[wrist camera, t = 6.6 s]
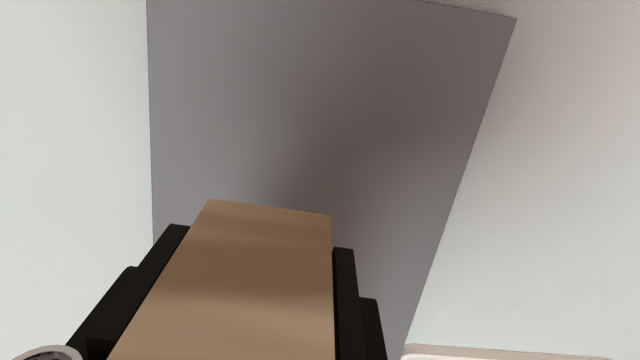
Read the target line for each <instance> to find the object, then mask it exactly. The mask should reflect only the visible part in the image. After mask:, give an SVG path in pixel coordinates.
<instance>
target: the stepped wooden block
mask: <svg viewBox="0 0 640 360" xmlns="http://www.w3.org/2000/svg"><path fill="white" fill-rule="evenodd" d="M107 360H335V342H334V311H333V281H332V250H331V220H330V215H324V214H317V213H311V212H304V211H297V210H290V209H283V208H276V207H269V206H263V205H256V204H249V203H242V202H235V201H228V200H221V199H215V198H209V199H208V201H207V202H206V204H205V205H204V207H203V209H202V210H201V212H200V213H199V215H198V216H197V218H196V220H195V221H194V223H193V224H192V226H191V227H190V229H189V231H188V232H187V234H186V235H185V237H184V238H183V240H182V242H181V243H180V245H179V246H178V248H177V249H176V251H175V253H174V254H173V256H172V257H171V259H170V260H169V262H168V264H167V265H166V267H165V268H164V270H163V271H162V273H161V275H160V276H159V278H158V279H157V281H156V282H155V284H154V286H153V287H152V289H151V290H150V292H149V293H148V295H147V297H146V298H145V300H144V301H143V303H142V304H141V306H140V308H139V309H138V311H137V312H136V314H135V315H134V317H133V319H132V320H131V322H130V323H129V325H128V326H127V328H126V330H125V331H124V333H123V334H122V336H121V337H120V339H119V341H118V342H117V344H116V345H115V347H114V349H113V350H112V352H111V353H110V355H109V356H108V358H107Z"/></svg>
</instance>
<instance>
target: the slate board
mask: <svg viewBox="0 0 640 360" xmlns="http://www.w3.org/2000/svg"><path fill="white" fill-rule="evenodd" d="M146 9H147V44H148V78H149V113H150V147H151V182H152V217H153V245H154V244H155V243H156V241H157V240H158V239H159V237H160V236H161V235H162V233H163V232H164V231H165V229H166V228H167V227H168V225H169V224H171V223H172V224H179V225H187V226H192V224H193V223H194V221H195V220H196V218H197V216H198V215H199V213H200V212H201V210H202V209H203V207H204V205H205V204H206V202H207V201H208V199H209V198H215V199H221V200H228V201H235V202H242V203H249V204H256V205H263V206H269V207H276V208H283V209H290V210H297V211H304V212H311V213H317V214H324V215H330V220H331V250H332V251H333V248H334V246H336V247H343V248H350V249H353V251H354V258H355V266H356V274H357V282H358V290H359V297H365V298H373V299H376V301H377V304H378V309H379V314H380V320H381V325H382V331H383V336H384V341H385V347H386V352H387V358H388V360H399V357H400V355H401V352H402V349H403V346H404V343H405V340H406V337H407V334H408V332H409V329H410V326H411V323H412V320H413V317H414V314H415V311H416V308H417V306H418V303H419V300H420V297H421V294H422V291H423V288H424V285H425V283H426V280H427V277H428V274H429V271H430V268H431V265H432V262H433V260H434V257H435V254H436V251H437V248H438V245H439V242H440V239H441V236H442V234H443V231H444V228H445V225H446V222H447V219H448V216H449V213H450V211H451V208H452V205H453V202H454V199H455V196H456V193H457V190H458V188H459V185H460V182H461V179H462V176H463V173H464V170H465V167H466V164H467V162H468V159H469V156H470V153H471V150H472V147H473V144H474V141H475V139H476V136H477V133H478V130H479V127H480V124H481V121H482V118H483V116H484V113H485V110H486V107H487V104H488V101H489V98H490V95H491V92H492V90H493V87H494V84H495V81H496V78H497V75H498V72H499V69H500V67H501V64H502V61H503V58H504V55H505V52H506V49H507V46H508V44H509V41H510V38H511V35H512V32H513V29H514V26H515V23H516V20H517V18H512V17H507V16H501V15H496V14H490V13H485V12H479V11H474V10H468V9H463V8H457V7H452V6H446V5H441V4H435V3H430V2H424V1H419V0H146Z"/></svg>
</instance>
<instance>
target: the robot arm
mask: <svg viewBox="0 0 640 360" xmlns="http://www.w3.org/2000/svg"><path fill="white" fill-rule="evenodd" d="M190 227H191V226H187V225H179V224H172V223H171V224H169V225H168V227H167V228H166V229H165V231H164V232H163V233H162V235H161V236H160V237H159V239H158V240H157V241H156V243H155V244H154V245H153V247H152V248H151V250H150V251H149V252H148V254H147V255H146V256H145V258H144V259H143V260H142V262H141V263H140V264H139V266H138V267H133V266H129V267H127V268H126V269H125V270H124V271H123V272H122V273H121V275H120V276H119V277H118V278H117V280H116V281H115V282H114V284H113V285H112V286H111V287H110V289H109V290H108V291H107V292H106V294H105V295H104V296H103V298H102V299H101V300H100V301H99V303H98V304H97V305H96V306H95V308H94V309H93V310H92V311H91V313H90V314H89V315H88V317H87V318H86V319H85V320H84V322H83V323H82V324H81V325H80V327H79V328H78V329H77V331H76V332H75V333H74V334H73V336H72V337H71V338H70V339H69V341H68V342H67V343H66V344H65V346H64V345H49V346H42V347H39V348H36V349H33V350H29V351H27V352H25V353H23V354H21V355H19V356H17V357H15V358H14V359H13V360H107V358H108V356H109V355H110V353H111V352H112V350H113V349H114V347H115V345H116V344H117V342H118V341H119V339H120V337H121V336H122V334H123V333H124V331H125V330H126V328H127V326H128V325H129V323H130V322H131V320H132V319H133V317H134V315H135V314H136V312H137V311H138V309H139V308H140V306H141V304H142V303H143V301H144V300H145V298H146V297H147V295H148V293H149V292H150V290H151V289H152V287H153V286H154V284H155V282H156V281H157V279H158V278H159V276H160V275H161V273H162V271H163V270H164V268H165V267H166V265H167V264H168V262H169V260H170V259H171V257H172V256H173V254H174V253H175V251H176V249H177V248H178V246H179V245H180V243H181V242H182V240H183V238H184V237H185V235H186V234H187V232H188V231H189V229H190ZM332 281H333V311H334V342H335V360H388V358H387V352H386V347H385V341H384V336H383V331H382V325H381V320H380V314H379V309H378V304H377V301H376V299H373V298H365V297H359V290H358V282H357V274H356V266H355V258H354V251H353V249H350V248H343V247H336V246H334V248H333V251H332Z"/></svg>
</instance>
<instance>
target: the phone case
mask: <svg viewBox="0 0 640 360" xmlns="http://www.w3.org/2000/svg"><path fill="white" fill-rule="evenodd" d="M412 358H427V359H440V360H606V359H603V358H598V357H584V356H571V355H557V354H543V353H530V352H516V351H503V350H489V349H476V348H462V347H448V346H435V345H421V344H407V345H404V346H403V349H402V352H401V355H400V357H399V360H408V359H412Z"/></svg>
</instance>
